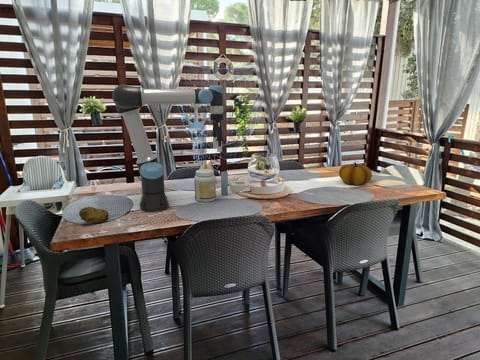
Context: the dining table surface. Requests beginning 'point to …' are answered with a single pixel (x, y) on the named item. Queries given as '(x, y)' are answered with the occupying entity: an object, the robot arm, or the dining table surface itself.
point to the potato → (93, 214)
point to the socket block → (239, 185)
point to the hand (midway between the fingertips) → (217, 149)
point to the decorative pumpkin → (355, 174)
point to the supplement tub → (205, 185)
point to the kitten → (207, 166)
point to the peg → (224, 183)
